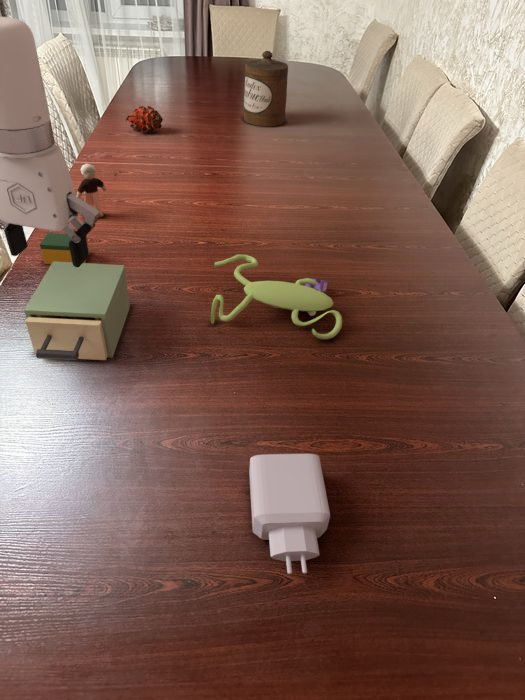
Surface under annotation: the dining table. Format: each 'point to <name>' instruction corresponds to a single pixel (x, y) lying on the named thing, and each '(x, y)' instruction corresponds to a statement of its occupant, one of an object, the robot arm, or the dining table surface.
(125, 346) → the dining table surface
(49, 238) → the sponge
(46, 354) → the drawer
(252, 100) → the wooden container
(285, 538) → the charger
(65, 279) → the cabinet
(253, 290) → the figurine
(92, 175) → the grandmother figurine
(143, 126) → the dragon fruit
